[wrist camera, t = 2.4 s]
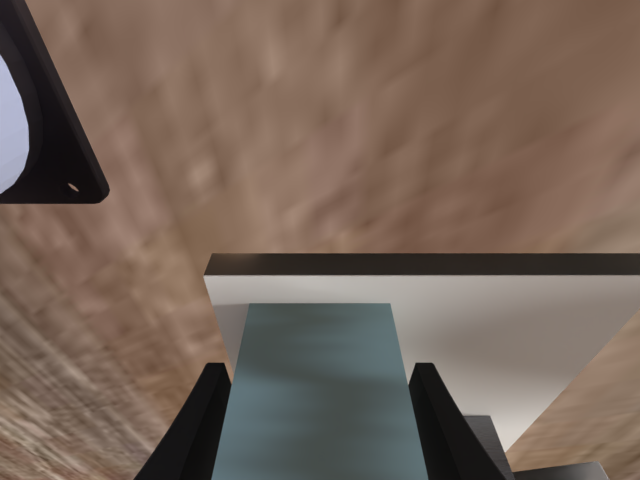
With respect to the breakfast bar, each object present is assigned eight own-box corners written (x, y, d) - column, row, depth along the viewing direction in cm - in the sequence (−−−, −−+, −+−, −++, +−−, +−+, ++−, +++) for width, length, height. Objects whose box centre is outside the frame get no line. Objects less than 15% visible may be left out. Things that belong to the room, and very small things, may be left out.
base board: (260, 432, 22) (258, 452, 21) (212, 253, 12) (203, 276, 11) (497, 432, 22) (505, 452, 21) (643, 253, 12) (669, 276, 11)
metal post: (431, 431, 20) (461, 554, 16) (441, 411, 18) (478, 544, 14) (474, 431, 20) (516, 554, 16) (488, 411, 18) (539, 543, 14)
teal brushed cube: (264, 376, 15) (236, 578, 10) (249, 303, 12) (197, 544, 7) (375, 376, 15) (403, 577, 10) (390, 303, 12) (442, 544, 7)
